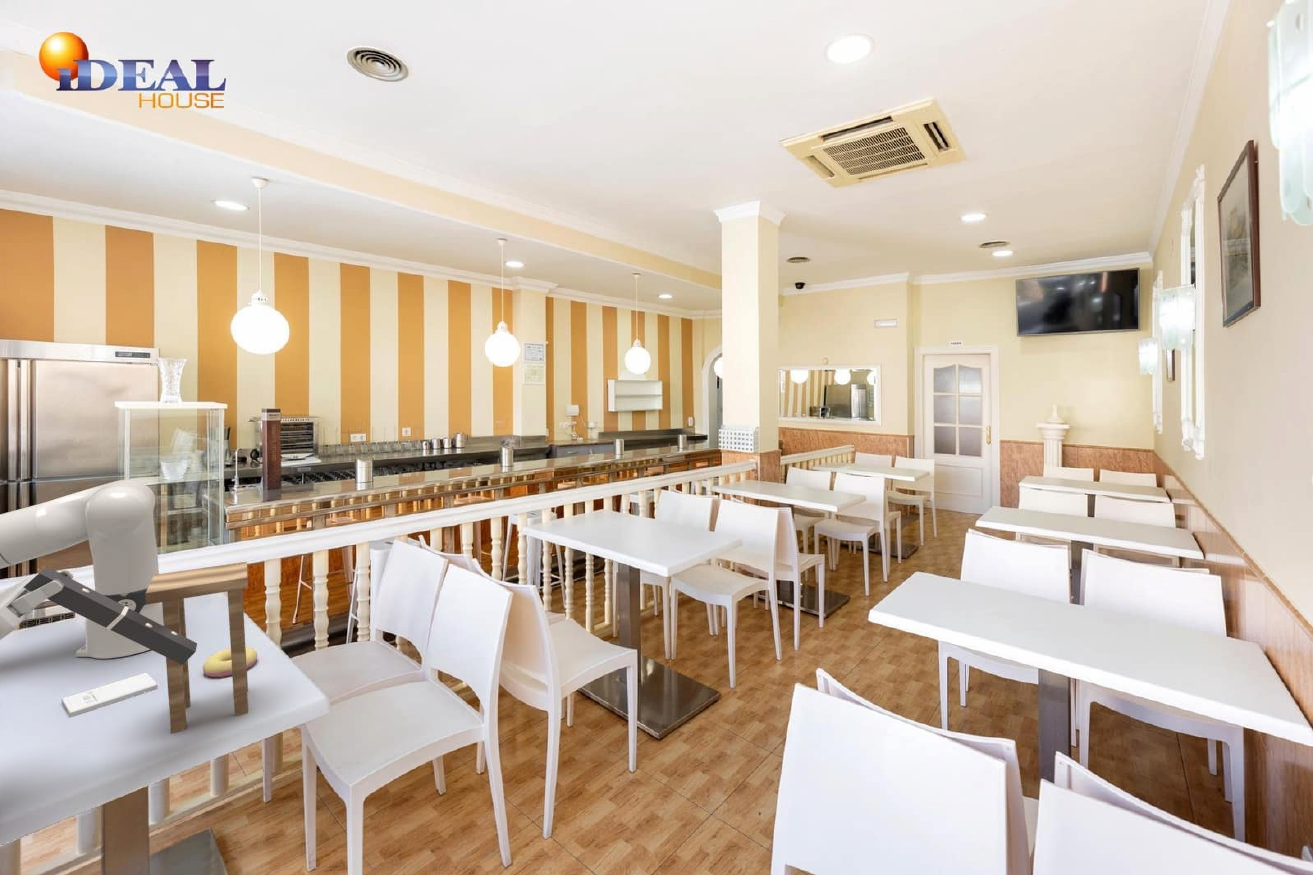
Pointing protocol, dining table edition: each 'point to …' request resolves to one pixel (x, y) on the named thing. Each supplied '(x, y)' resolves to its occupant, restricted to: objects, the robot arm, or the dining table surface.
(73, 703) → the external hard drive
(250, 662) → the donut
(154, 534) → the robot arm
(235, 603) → the stool
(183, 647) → the domino
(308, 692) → the dining table surface
